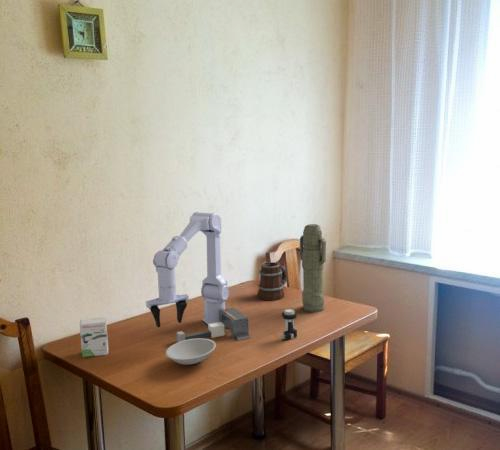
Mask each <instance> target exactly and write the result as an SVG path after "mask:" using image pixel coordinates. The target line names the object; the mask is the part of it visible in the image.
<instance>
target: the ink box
mask: <svg viewBox="0 0 500 450" xmlns="http://www.w3.org/2000/svg"><path fill="white" fill-rule="evenodd" d="M107 327H108V325H107V317H105V316H102V317H90V318H82V319H80V321H79V335H80V345H81V355H82V356H81V358H89V357H98V356H107V355H109V340H108V339H109V337H108V328H107Z"/></svg>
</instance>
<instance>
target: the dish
mask: <svg viewBox="0 0 500 450" xmlns="http://www.w3.org/2000/svg"><path fill="white" fill-rule="evenodd" d="M216 347H217V345H216V342H215V341H214V340H212V339H210V338H195V339H188V340H184V341H180V342H176V343H174V344H172V345H169V347H168V348H167V349H166V350H165V356H166V357H167V358H168V359H170V360H172V361H174V362H175V363H177V364H180V365H187V366H189V365H194V364H198V363H200V362H203V361H204V360H205V359H207V358H208V357H209V356H210V355H211V353H212V352H213V351H214V350H215V349H216Z"/></svg>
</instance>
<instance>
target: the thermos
mask: <svg viewBox="0 0 500 450" xmlns="http://www.w3.org/2000/svg"><path fill="white" fill-rule="evenodd" d="M326 251H327V241H326V239H325V237H323V231H322V229H321V225H318V224H315V223H314V224H307V225H305V226H304V228H303V231H302V235H300V238H299V256H300V258H299V259H300V261H301V268H302V273H303V275H302V276H303V280H302V281H303V290H302V292H301V293H302V296H301V298H302V299H301V300H302V310H303V311H305V312H310V313H319V312H322V311H324V310H325V306H324V305H325V292H324V289H323V288H324V285H323V284H324V283H323V282H324V280H323V279H324V278H323V277H324V274H323V273H324V267H325V266H324V265H325V263H326V261H327V257H326V256H327V254H326Z"/></svg>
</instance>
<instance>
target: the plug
mask: <svg viewBox="0 0 500 450" xmlns="http://www.w3.org/2000/svg"><path fill="white" fill-rule="evenodd" d="M225 335H226V333H225V329H224V324H223V323H221V322H217V323H212V324H207V330H204V331H198V332H193V333H189V334H186V333H185V332H184V331H182V330H181V331H177V332H176V343H178V342H180V341H184V340H188V339H195V338H205V339H210V338H211V339H212V338H218V337H223V336H225Z"/></svg>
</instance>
